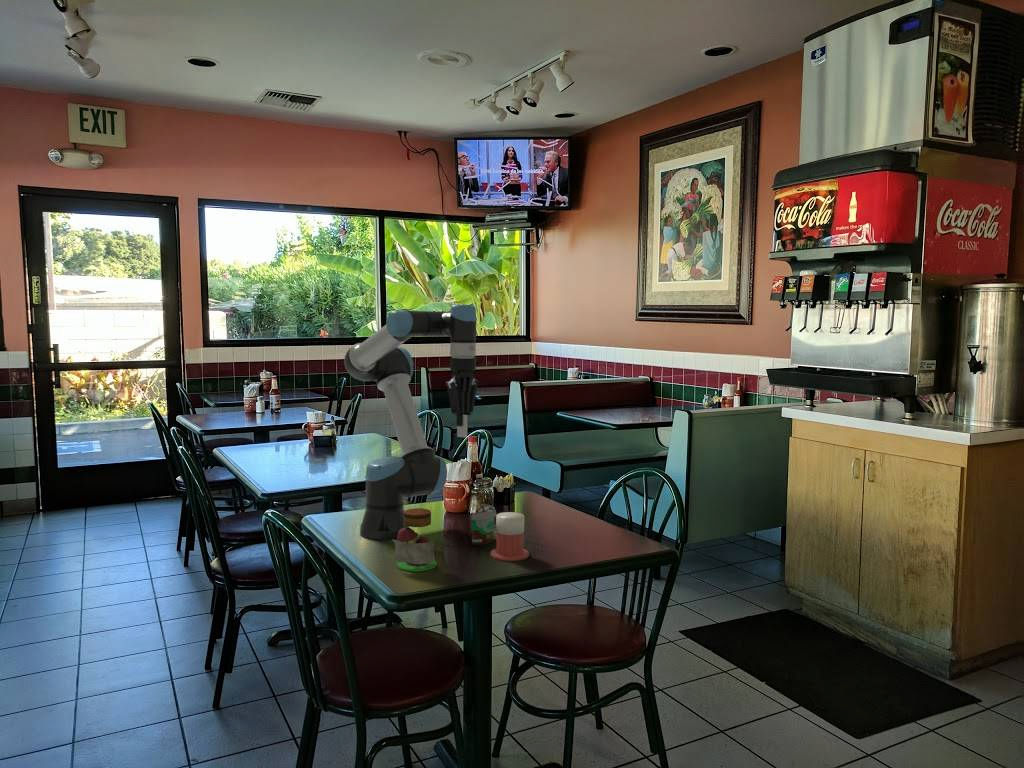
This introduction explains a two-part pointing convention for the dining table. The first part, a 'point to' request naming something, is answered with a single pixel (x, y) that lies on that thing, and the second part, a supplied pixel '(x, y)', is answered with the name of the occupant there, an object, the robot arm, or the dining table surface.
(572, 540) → the dining table surface
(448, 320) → the robot arm
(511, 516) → the grey rounded piece
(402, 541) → the translucent plastic tub
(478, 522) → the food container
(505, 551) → the red flanged cylinder
